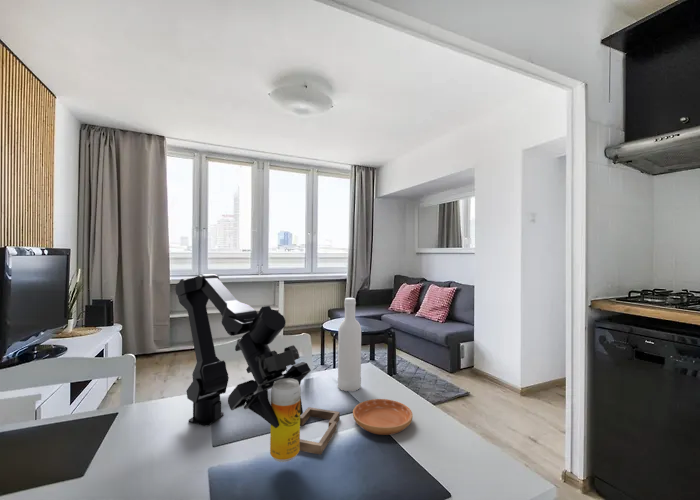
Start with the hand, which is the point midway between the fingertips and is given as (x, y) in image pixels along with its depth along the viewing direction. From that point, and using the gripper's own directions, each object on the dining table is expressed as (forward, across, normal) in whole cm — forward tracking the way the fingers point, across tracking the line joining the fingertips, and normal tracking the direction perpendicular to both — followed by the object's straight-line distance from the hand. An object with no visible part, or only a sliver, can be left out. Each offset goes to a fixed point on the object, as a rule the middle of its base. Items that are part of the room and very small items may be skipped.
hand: (289, 420), depth 68 cm
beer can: (+5, 0, +6) cm, 8 cm away
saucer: (+11, +29, +5) cm, 31 cm away
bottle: (-4, +41, +20) cm, 46 cm away
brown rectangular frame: (+3, +14, +12) cm, 19 cm away
